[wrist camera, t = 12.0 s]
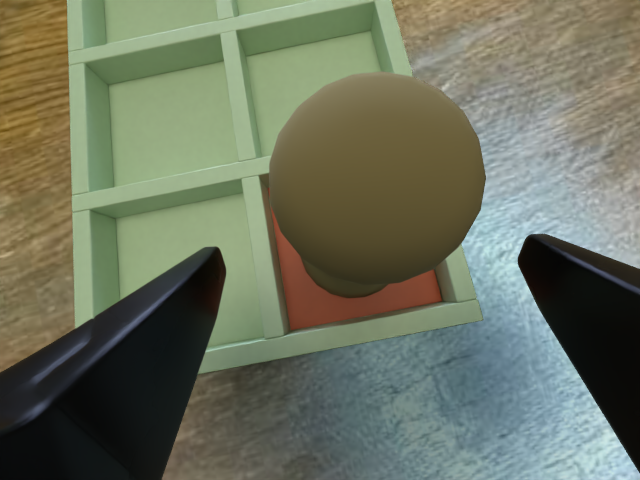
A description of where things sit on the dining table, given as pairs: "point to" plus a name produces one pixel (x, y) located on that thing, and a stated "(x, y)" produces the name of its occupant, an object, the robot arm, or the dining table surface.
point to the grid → (224, 165)
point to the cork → (375, 181)
